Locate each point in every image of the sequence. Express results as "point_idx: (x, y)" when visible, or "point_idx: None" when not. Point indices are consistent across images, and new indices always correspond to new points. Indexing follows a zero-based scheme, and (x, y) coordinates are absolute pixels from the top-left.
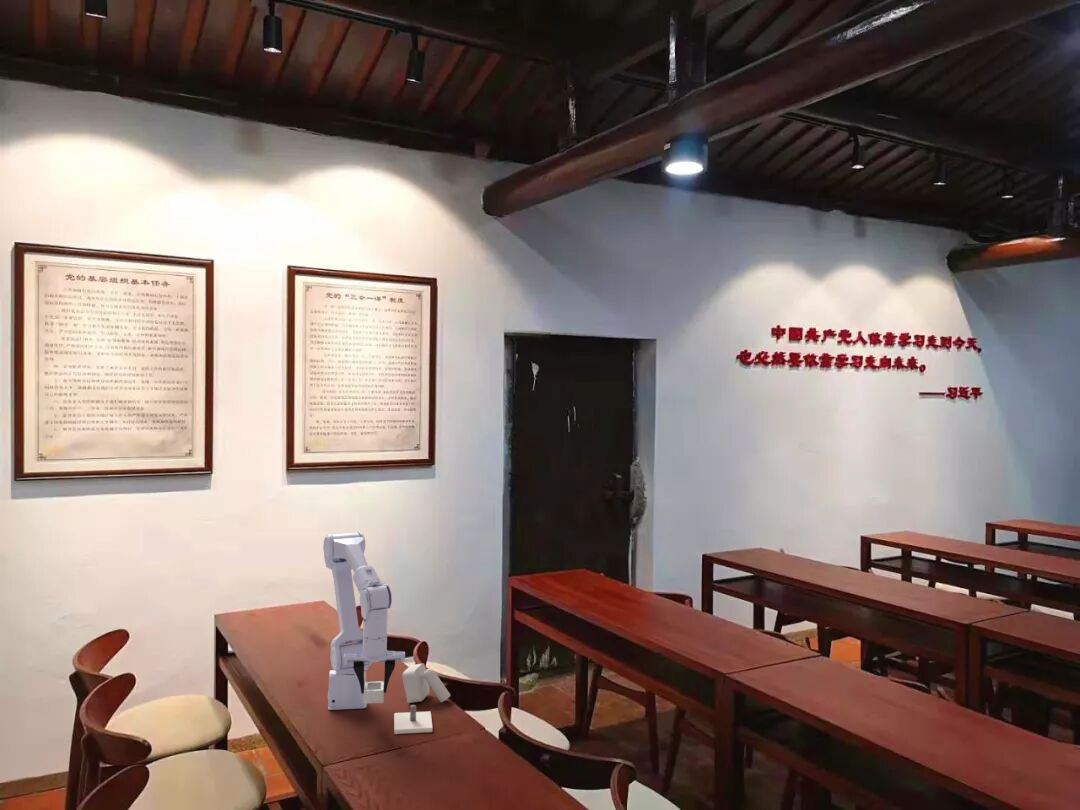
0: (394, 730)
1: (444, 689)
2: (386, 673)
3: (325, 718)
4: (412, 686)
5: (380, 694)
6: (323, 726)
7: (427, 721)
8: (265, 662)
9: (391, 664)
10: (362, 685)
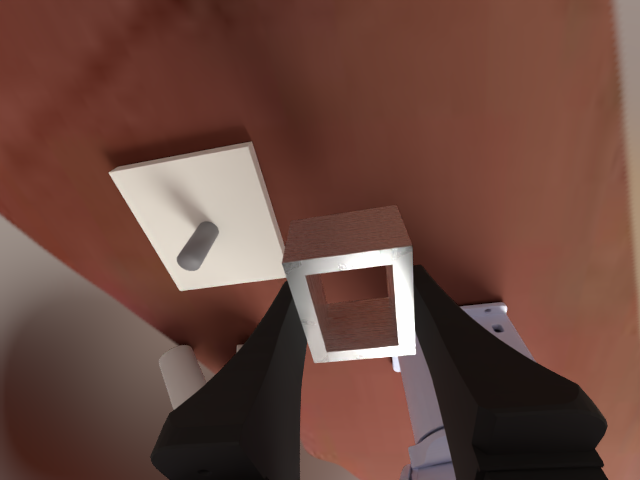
0: (248, 145)
1: (165, 379)
2: (251, 374)
3: (517, 253)
4: None
5: (302, 244)
6: (530, 194)
7: (154, 223)
8: (621, 477)
9: (186, 465)
10: (430, 293)
